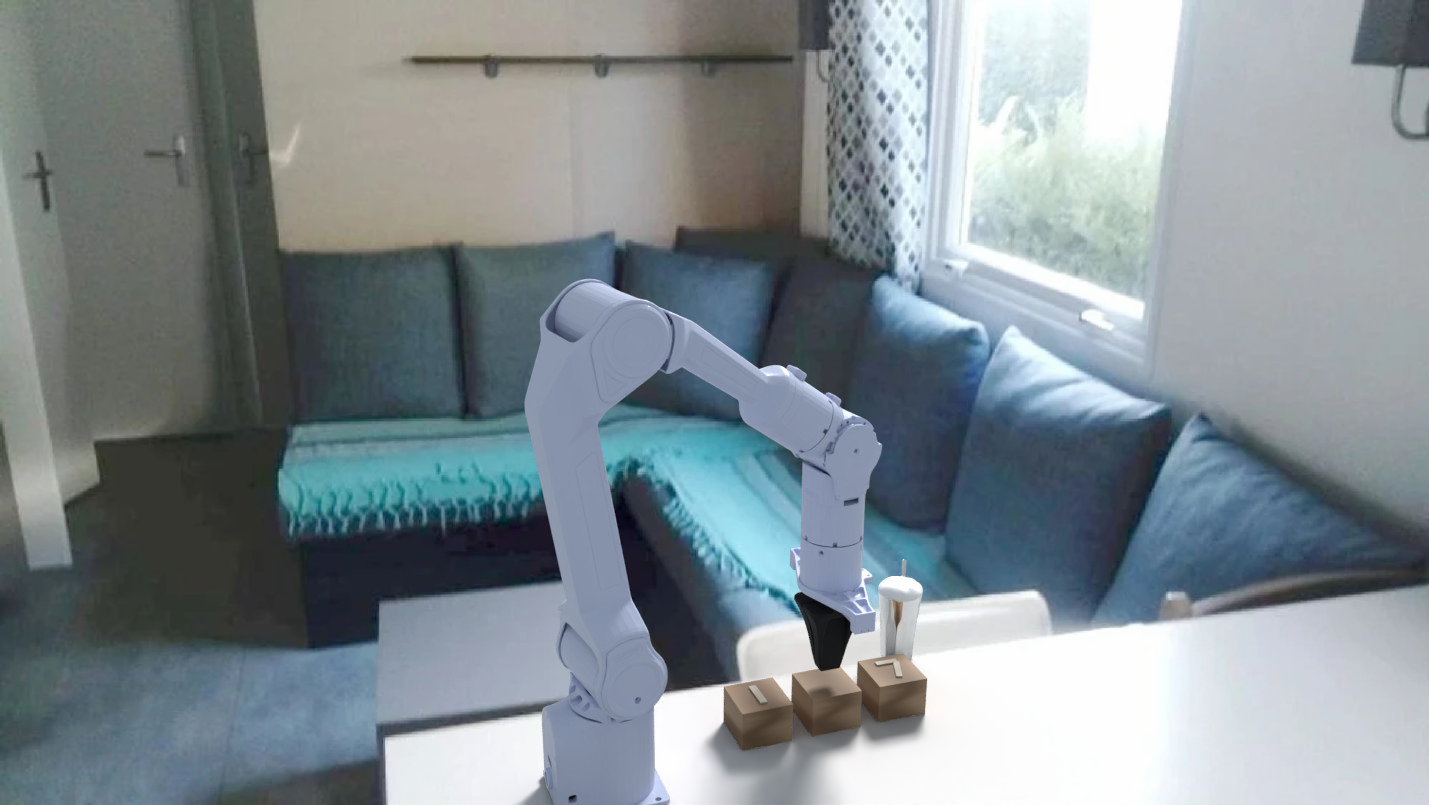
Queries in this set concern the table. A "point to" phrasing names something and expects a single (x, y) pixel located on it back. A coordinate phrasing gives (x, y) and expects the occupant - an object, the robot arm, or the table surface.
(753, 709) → the digit block one
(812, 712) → the blank block
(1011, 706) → the table surface
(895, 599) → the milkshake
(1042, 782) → the table surface
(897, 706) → the digit block seven
